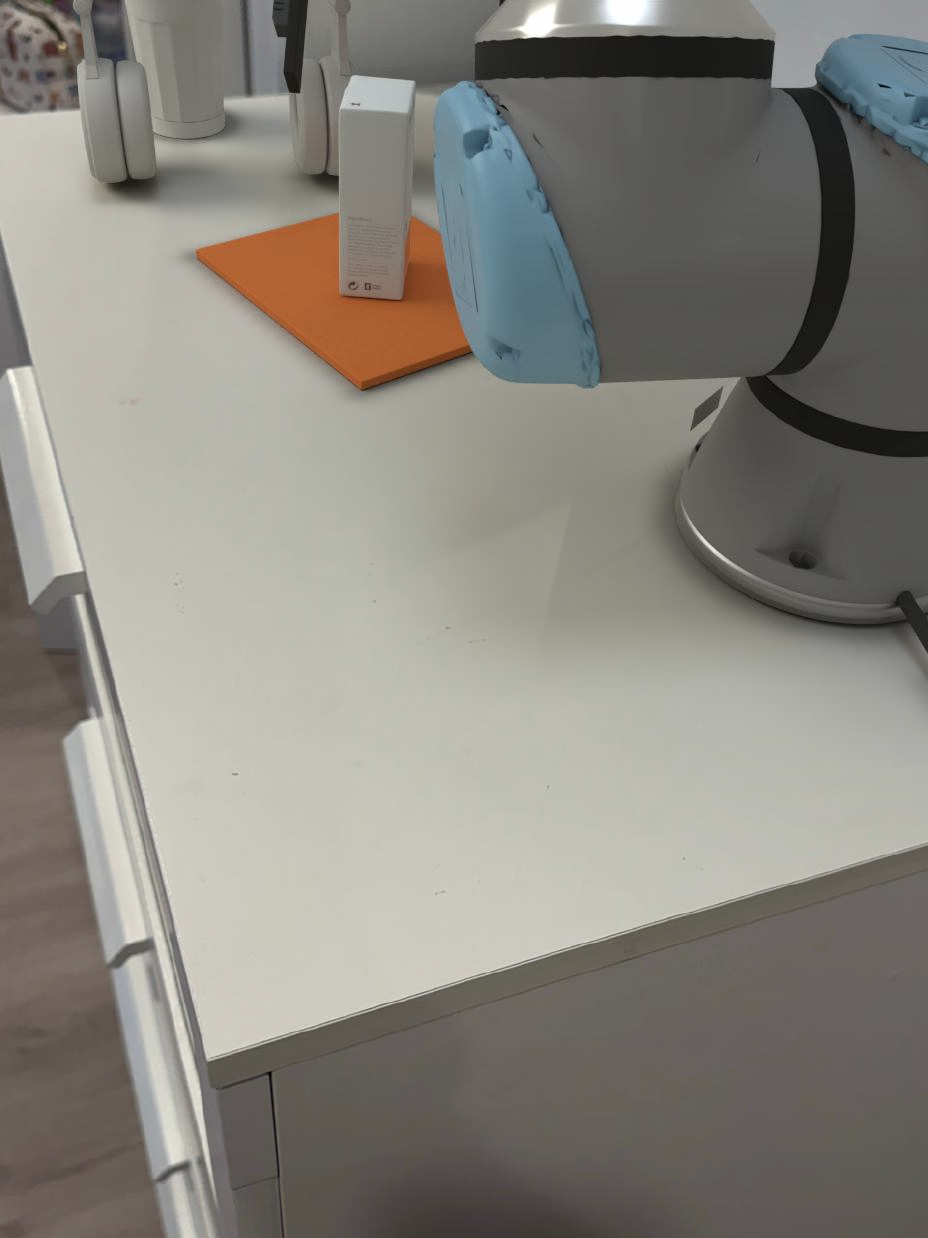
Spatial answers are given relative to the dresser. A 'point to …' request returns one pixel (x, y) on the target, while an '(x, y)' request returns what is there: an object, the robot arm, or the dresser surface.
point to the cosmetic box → (375, 186)
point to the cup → (181, 63)
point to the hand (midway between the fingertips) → (394, 91)
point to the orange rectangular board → (346, 299)
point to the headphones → (125, 120)
